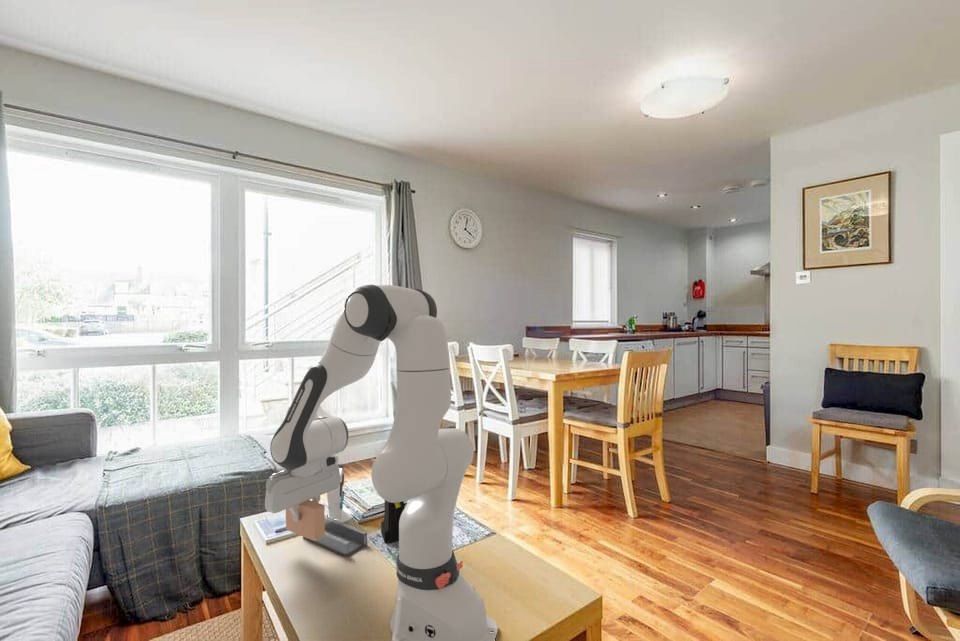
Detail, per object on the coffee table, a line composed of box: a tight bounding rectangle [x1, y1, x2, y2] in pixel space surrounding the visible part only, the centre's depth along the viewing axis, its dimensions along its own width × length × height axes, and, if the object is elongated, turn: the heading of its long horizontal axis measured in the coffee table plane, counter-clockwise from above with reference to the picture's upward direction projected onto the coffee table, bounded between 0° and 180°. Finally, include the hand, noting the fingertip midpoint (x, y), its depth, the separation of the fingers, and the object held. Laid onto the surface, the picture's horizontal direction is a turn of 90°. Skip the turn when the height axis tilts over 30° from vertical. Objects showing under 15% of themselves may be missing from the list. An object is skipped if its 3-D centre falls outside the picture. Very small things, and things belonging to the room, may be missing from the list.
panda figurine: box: [326, 463, 354, 524], centre depth 139 cm, size 12×11×15 cm
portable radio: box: [380, 500, 405, 543], centre depth 127 cm, size 8×6×25 cm
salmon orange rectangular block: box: [285, 499, 326, 541], centre depth 116 cm, size 12×3×8 cm, turn 57°
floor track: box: [302, 516, 368, 558], centre depth 124 cm, size 18×7×4 cm, turn 57°
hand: (304, 516), depth 116 cm, fingers closed on salmon orange rectangular block, 3 cm apart
